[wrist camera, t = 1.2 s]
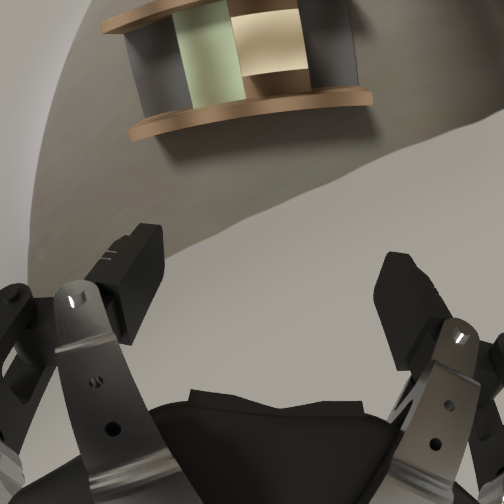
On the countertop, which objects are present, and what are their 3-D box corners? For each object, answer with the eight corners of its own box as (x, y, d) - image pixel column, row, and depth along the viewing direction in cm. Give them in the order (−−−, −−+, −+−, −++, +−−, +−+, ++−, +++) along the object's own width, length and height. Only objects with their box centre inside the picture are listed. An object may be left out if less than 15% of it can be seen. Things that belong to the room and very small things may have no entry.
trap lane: (342, -17, 20) (354, -28, 16) (358, 96, 27) (373, 105, 23) (122, 24, 23) (99, 23, 19) (149, 127, 30) (130, 141, 26)
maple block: (236, 22, 21) (230, 17, 18) (293, 15, 21) (298, 8, 17) (246, 72, 24) (242, 76, 21) (302, 65, 24) (308, 68, 20)
